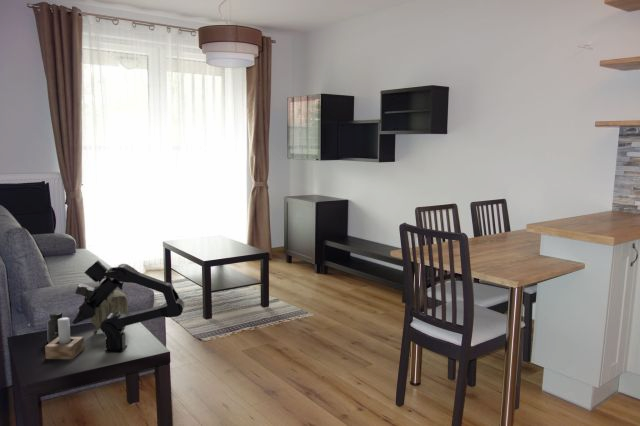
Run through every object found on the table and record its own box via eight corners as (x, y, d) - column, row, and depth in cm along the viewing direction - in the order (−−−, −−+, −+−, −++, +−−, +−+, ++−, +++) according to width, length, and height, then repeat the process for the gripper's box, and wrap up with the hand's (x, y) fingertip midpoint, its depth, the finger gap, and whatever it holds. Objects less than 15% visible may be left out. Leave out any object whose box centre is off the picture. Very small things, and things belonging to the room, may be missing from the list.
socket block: (84, 348, 206) (83, 336, 205) (71, 359, 196) (71, 346, 195) (59, 348, 206) (58, 336, 205) (45, 358, 196) (45, 346, 195)
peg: (73, 350, 201) (71, 318, 199) (63, 354, 198) (61, 321, 196) (67, 348, 203) (65, 316, 202) (57, 351, 200) (55, 319, 198)
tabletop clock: (122, 325, 232) (120, 271, 228) (130, 331, 225) (128, 275, 222) (89, 333, 222) (86, 277, 218) (97, 339, 215) (94, 281, 212)
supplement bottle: (58, 344, 210) (56, 316, 208) (44, 343, 211) (42, 315, 209) (70, 338, 216) (68, 310, 215) (55, 337, 218) (54, 309, 216)
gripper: (91, 270, 208) (63, 299, 207) (84, 283, 190) (53, 314, 189) (113, 288, 211) (85, 316, 210) (107, 302, 193) (77, 332, 192)
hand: (75, 319), depth 200 cm, fingers open, 9 cm apart
